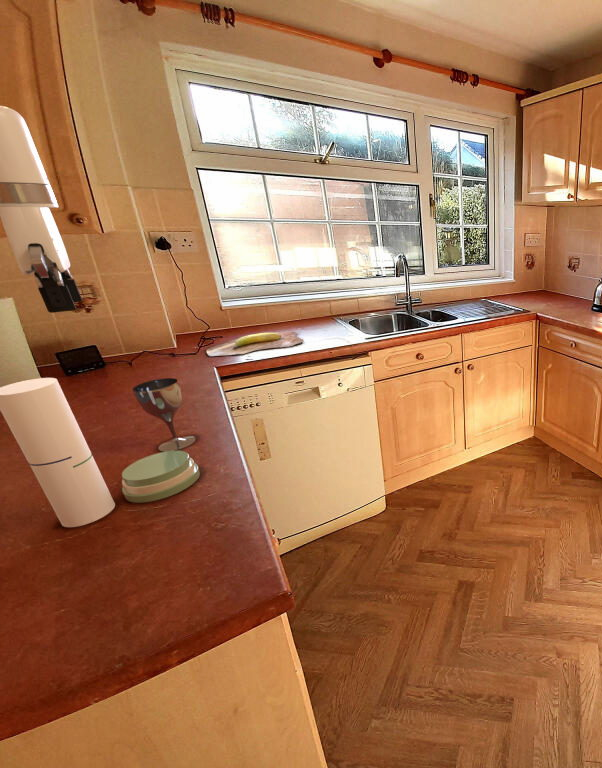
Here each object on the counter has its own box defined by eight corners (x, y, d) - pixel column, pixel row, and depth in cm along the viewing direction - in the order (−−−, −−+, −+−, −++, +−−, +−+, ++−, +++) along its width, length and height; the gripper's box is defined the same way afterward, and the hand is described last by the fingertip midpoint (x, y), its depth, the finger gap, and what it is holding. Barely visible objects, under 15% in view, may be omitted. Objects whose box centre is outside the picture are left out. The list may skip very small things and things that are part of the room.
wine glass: (185, 432, 104) (165, 376, 98) (205, 439, 101) (185, 381, 95) (148, 447, 98) (124, 388, 92) (168, 455, 94) (144, 394, 89)
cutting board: (295, 330, 195) (294, 322, 193) (309, 343, 174) (307, 334, 173) (205, 344, 176) (202, 336, 174) (208, 361, 155) (205, 351, 154)
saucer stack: (108, 499, 80) (98, 479, 78) (166, 464, 91) (159, 446, 89) (160, 505, 78) (152, 485, 76) (214, 469, 89) (208, 451, 87)
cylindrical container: (56, 517, 75) (-13, 388, 66) (108, 496, 81) (51, 374, 71) (67, 533, 72) (-5, 399, 62) (120, 509, 77) (62, 383, 67)
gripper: (-1, 199, 70) (44, 302, 76) (-33, 195, 57) (25, 319, 64) (62, 199, 74) (100, 297, 81) (45, 195, 62) (92, 311, 68)
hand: (66, 306), depth 72 cm, fingers open, 9 cm apart
